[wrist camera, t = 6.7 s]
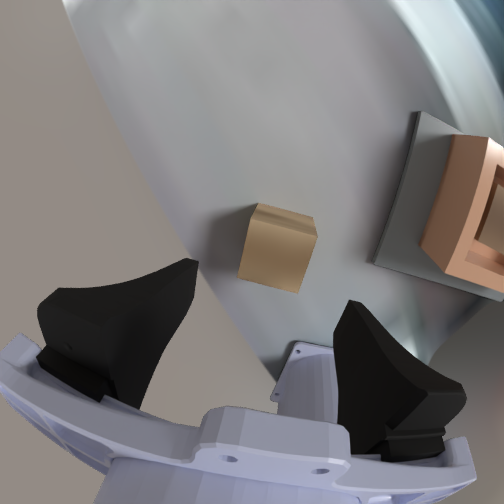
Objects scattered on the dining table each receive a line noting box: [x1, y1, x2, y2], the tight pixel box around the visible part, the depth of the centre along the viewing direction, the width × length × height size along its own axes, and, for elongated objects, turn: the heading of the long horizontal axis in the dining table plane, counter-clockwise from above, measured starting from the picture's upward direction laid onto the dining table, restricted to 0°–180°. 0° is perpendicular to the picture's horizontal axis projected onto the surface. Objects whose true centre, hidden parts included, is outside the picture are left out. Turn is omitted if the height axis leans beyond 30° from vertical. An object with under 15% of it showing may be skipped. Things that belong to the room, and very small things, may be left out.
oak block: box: [237, 203, 318, 293], centre depth 18 cm, size 4×4×4 cm
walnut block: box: [474, 182, 504, 255], centre depth 14 cm, size 4×4×4 cm
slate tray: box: [372, 111, 504, 302], centre depth 17 cm, size 12×17×1 cm
